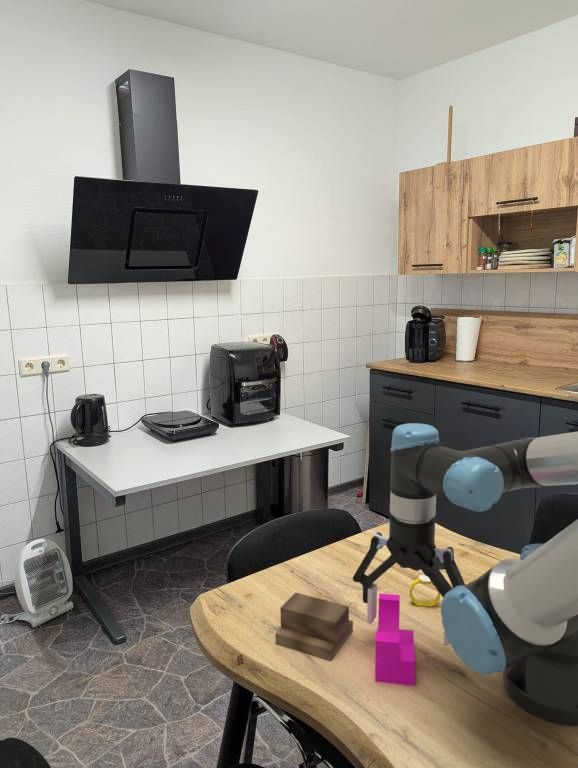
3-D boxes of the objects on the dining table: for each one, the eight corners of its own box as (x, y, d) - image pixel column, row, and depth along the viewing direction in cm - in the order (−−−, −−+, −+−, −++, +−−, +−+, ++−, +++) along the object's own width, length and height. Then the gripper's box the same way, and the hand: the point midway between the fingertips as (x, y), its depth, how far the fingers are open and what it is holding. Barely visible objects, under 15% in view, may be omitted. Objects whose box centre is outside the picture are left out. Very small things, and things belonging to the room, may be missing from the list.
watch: (438, 603, 119) (441, 576, 118) (439, 611, 116) (442, 583, 115) (408, 599, 120) (411, 572, 119) (408, 606, 118) (411, 579, 116)
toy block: (414, 686, 94) (415, 644, 93) (375, 682, 96) (375, 640, 94) (412, 633, 109) (413, 596, 108) (378, 630, 110) (379, 593, 109)
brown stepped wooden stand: (352, 630, 110) (352, 601, 109) (331, 660, 101) (331, 628, 100) (300, 616, 115) (300, 587, 114) (275, 643, 106) (275, 613, 105)
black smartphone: (435, 548, 142) (447, 568, 133) (435, 551, 143) (446, 571, 133) (415, 549, 142) (425, 568, 133) (415, 551, 142) (424, 571, 133)
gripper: (493, 521, 96) (486, 638, 100) (351, 495, 107) (350, 601, 111) (485, 539, 89) (478, 663, 93) (335, 509, 101) (334, 621, 105)
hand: (408, 630), depth 102 cm, fingers open, 13 cm apart
